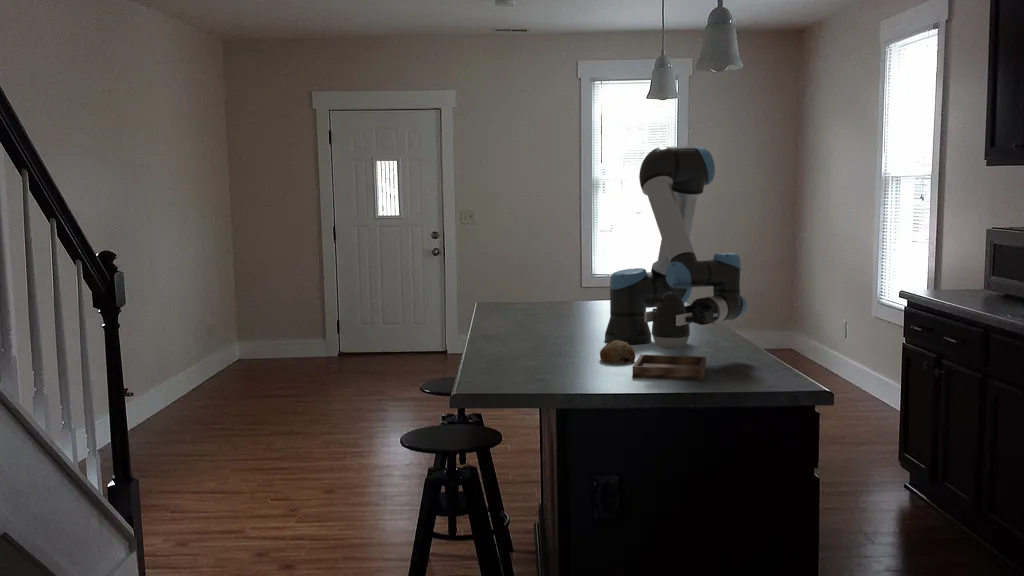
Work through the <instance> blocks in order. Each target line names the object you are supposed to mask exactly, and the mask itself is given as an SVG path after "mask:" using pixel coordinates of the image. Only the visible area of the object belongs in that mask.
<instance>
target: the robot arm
mask: <svg viewBox="0 0 1024 576" xmlns="http://www.w3.org/2000/svg"><path fill="white" fill-rule="evenodd" d="M715 173H716V168H715V161H714V158H713V155H712V154H711V152H710V151H709V150H708V149H707V148H706V147H702V146H694V145H692V146H691V145H690V146H660V147H656V148H654V149H652V150H651V151H650V152H649V153H648V154H646V156H645V157H644V159H643V160H642V163H641V165H640V169H639V175H638V176H639V177H638V178H639V185H640V187H641V191H642V193H643V194H644V195H645V196H646V197H647V198H648V202H649V204H650V207H651V210H652V213H653V215H654V216H653V217H654V220H655V222H656V225H657V228H658V231H659V234H660V237H661V241H660V247H659V252H658V257H657V260H656V261H654V262H653V263H652V265H651V271H649V272H647V269H645V268H643V267H642V268H641V267H639V268H638V267H637V268H627V269H622V270H618V271H615V272H613V273H611V276H610V280H609V281H610V283H609V292H610V293H609V313H610V314H609V315H610V317H609V320H608V323H607V327H606V330H605V332H604V341H605V342H606V343H609V342H611V341H614V340H620V341H623V342H627V343H628V344H629V345H641V344H647V343H650V342H652V331H651V329H650V327H649V323H650V322H652V323H653V318H654V314H655V311H656V308H657V305H658V303H659V302H657V301H655V300H654V299H652V298H651V297H652V295H654V296H658V297H662V296H663V295H664V294H665V293H667V292H675V293H677V294H678V295H679V296H680V297H681V299H682V301H683V303H684V304H686V303H687V301H688V300H689V299H690V296H691V294H692V291H693V288H709V287H713V289H712V290H713V295H711V296H706V297H700V298H696V299H695V300H693V301H692V302H691V304H689V305H685V308H686V311H687V314H681V315H676V326H681V325H686V324H689V325H690V324H697V325H699V326H700V325H701V326H706V325H710V324H711V325H715V324H716V323H719V322H724V321H730V320H731V321H732V320H735V319H738V318H740V317H742V316H743V315H744V314H745V313H746V310H747V307H748V306H747V301H746V299H745V297H744V296H743V295H742V294H741V288H740V286H741V270H742V269H741V258H740V257H741V256H740V255H739V254H738V253H734V252H717V253H714V254H713V258H712V259H710V260H698V259H697V256H696V253H695V250H694V248H693V245H692V242H691V239H690V235H691V230H692V225H693V220H694V214H695V210H696V209H695V208H696V204H697V200H698V199H697V198H698V197H699V196H701V195H702V194H703V192H704V189H705V186H708V185H710V184H711V183H712V182H713V180H714V179H715V178H714V177H715ZM649 308H650V309H651V308H652V310H651V311H649V310H648V311H647V309H649Z"/></svg>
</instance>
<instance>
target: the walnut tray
mask: <svg viewBox="0 0 1024 576" xmlns="http://www.w3.org/2000/svg"><path fill="white" fill-rule="evenodd" d="M634 362H635V363H634V364H633V365H632V379H645V380H653V379H654V380H668V379H670V380H671V381H672V380H674V381H690V380H696V381H695V382H703V379H704V376H705V373H706V368H707V356H699V355H698V356H694V355H673V354H672V355H671V354H669V355H668V354H667V355H666V354H642V353H641V354H640V355H639V356H638V358H637V359H636V360H635V361H634Z"/></svg>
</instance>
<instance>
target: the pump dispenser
mask: <svg viewBox="0 0 1024 576" xmlns="http://www.w3.org/2000/svg"><path fill="white" fill-rule="evenodd" d="M651 298H652V299H654V300H655V301H657V302H659V303H658V305H657V307H655V309H656V311H655V314H654V318H653V321H652V325H651V336H652V338H653V341H654V342H655V344H656V346H658V347H659V348H661V349H664V350H680V349H682V348H683V347H684V346H686V345H687V343H688V341H689V337H690V336H691V326H690V324H686V325H681V326H676V315H681V314H687V311H686V308H685V306H686V305H685V303H683V301H682V299H681V297H680V296H679V295H678V294H677V293H675V292H667V293H665V294H664V295H663V296H662V297H658V296H654V295H652V297H651Z"/></svg>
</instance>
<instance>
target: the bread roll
mask: <svg viewBox="0 0 1024 576" xmlns="http://www.w3.org/2000/svg"><path fill="white" fill-rule="evenodd" d="M599 356H600V357H599V358H600V361H601V362H603V363H606V364H608V365H609V364H610V365H625V364H631V363H634V362H635V361H636V353H635V350H634V349H633V347H632V346H631V344H628V343H627V342H623V341H620V340H614V341H611V342H607V344H605V345H604V346H603V347H602V348H601V349H600V352H599Z"/></svg>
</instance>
